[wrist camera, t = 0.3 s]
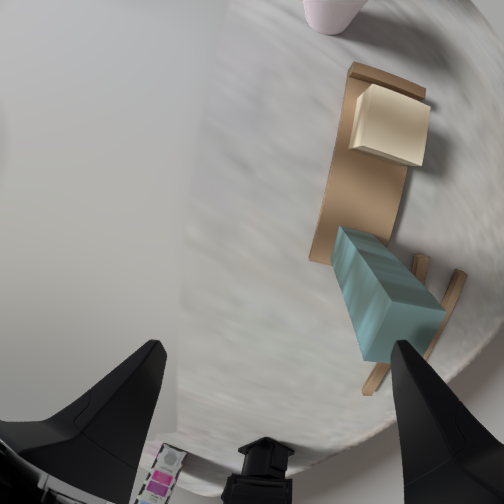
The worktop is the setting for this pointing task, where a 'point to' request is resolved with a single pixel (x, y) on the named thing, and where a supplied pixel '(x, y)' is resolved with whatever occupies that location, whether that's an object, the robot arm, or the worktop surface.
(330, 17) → the smoothie
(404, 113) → the maple block
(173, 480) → the candy bar box
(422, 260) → the broken lane
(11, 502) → the robot arm
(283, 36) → the worktop surface
